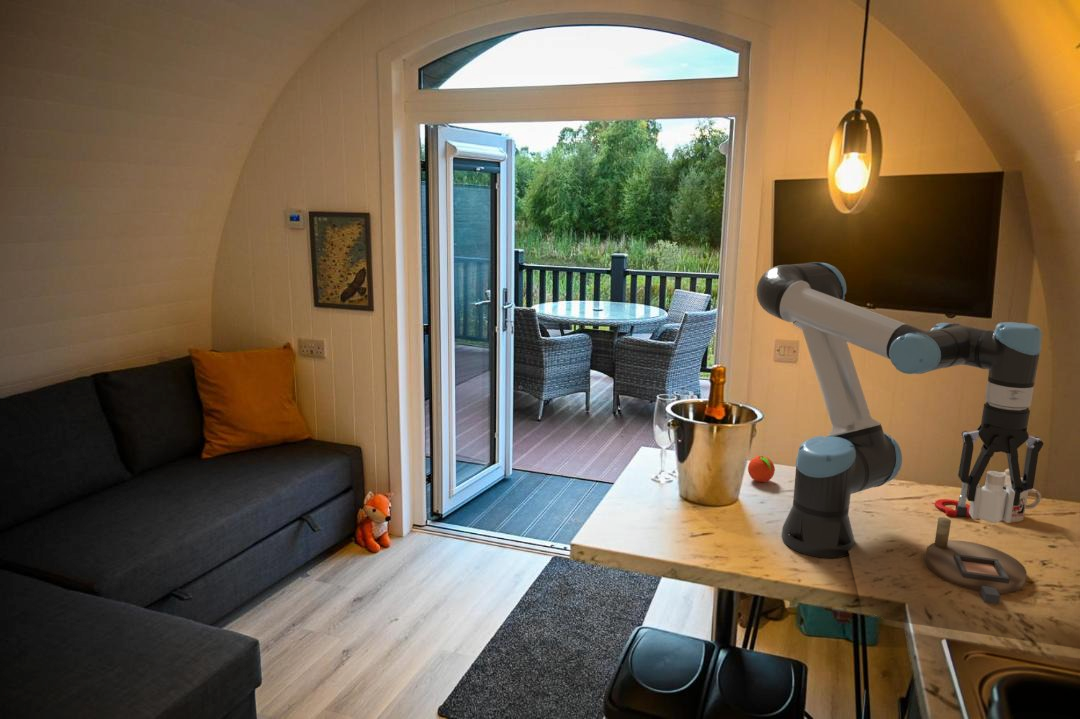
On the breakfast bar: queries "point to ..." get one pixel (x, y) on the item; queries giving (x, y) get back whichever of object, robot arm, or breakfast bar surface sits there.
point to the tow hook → (961, 505)
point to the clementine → (761, 469)
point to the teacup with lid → (1020, 500)
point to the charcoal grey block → (990, 595)
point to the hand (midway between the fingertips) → (989, 517)
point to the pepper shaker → (992, 498)
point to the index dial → (972, 563)
